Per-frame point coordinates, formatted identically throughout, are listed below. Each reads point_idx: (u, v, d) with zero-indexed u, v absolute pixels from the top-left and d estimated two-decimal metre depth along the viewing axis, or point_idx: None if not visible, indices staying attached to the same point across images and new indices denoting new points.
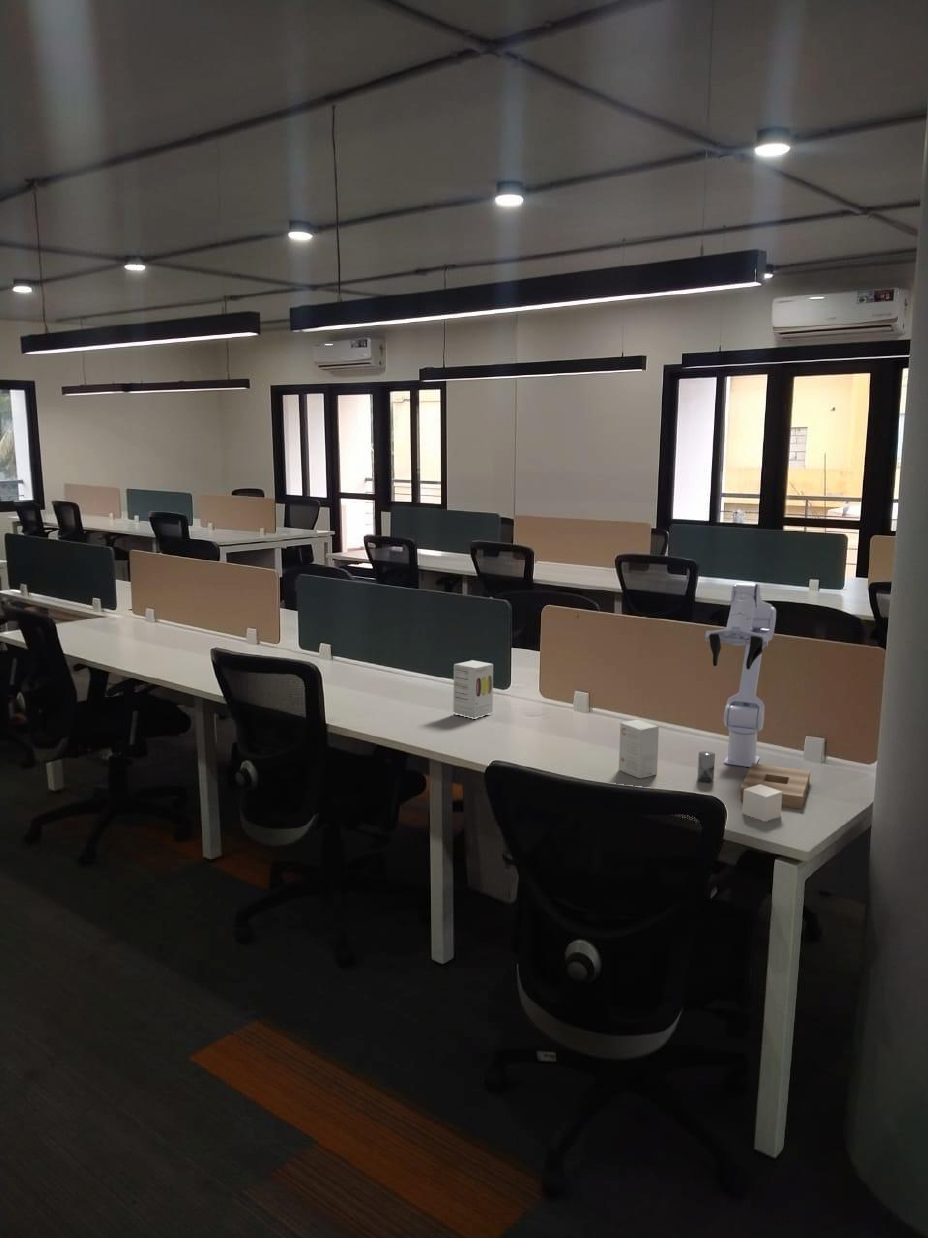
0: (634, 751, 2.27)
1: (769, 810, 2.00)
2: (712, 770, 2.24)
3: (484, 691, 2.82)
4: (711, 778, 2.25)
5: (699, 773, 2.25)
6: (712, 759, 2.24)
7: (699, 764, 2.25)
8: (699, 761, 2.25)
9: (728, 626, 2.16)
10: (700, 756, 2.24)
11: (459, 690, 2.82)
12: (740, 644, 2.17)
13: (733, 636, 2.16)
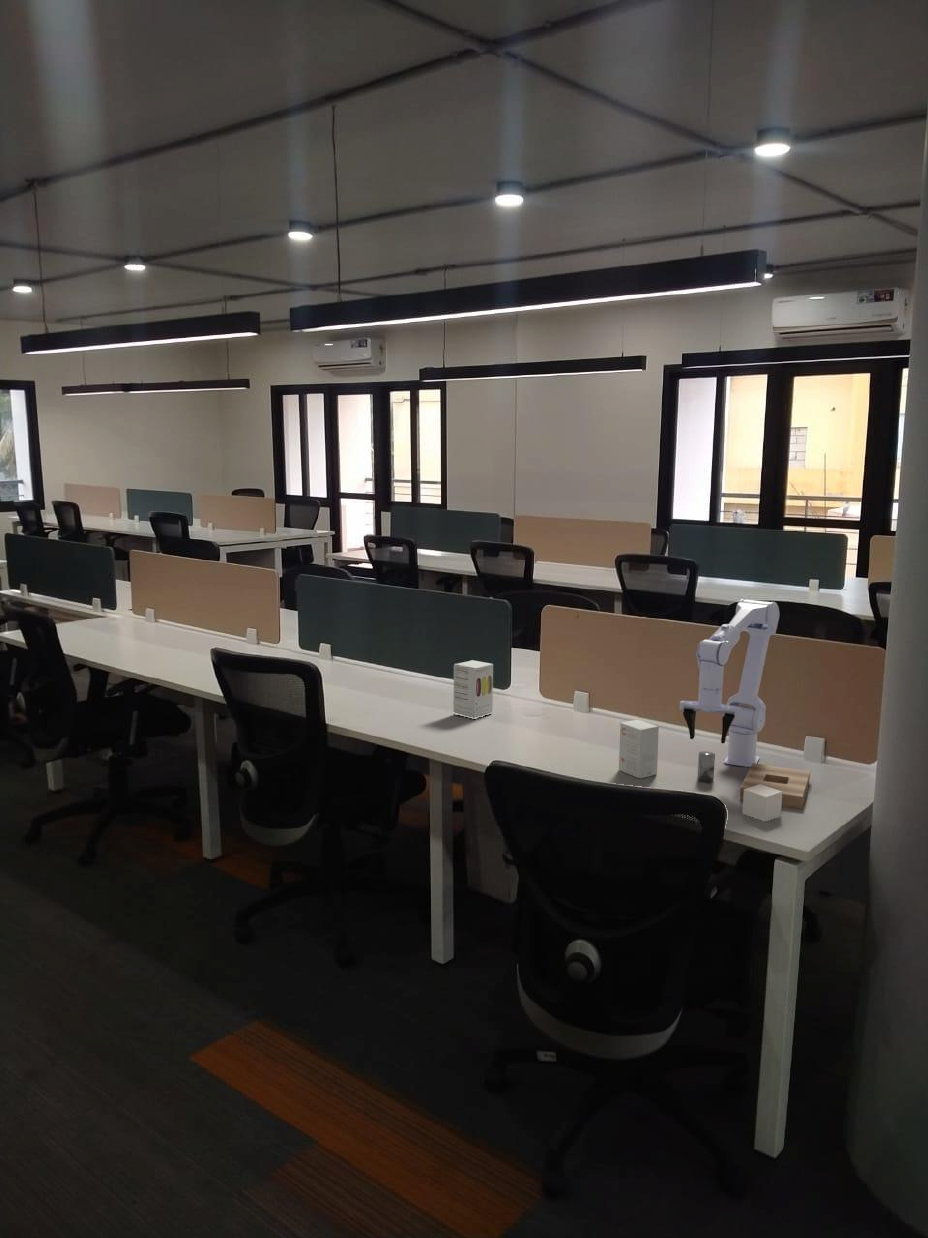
0: (634, 751, 2.27)
1: (769, 810, 2.00)
2: (712, 770, 2.24)
3: (484, 691, 2.82)
4: (711, 778, 2.25)
5: (699, 773, 2.25)
6: (712, 759, 2.24)
7: (699, 764, 2.25)
8: (699, 761, 2.25)
9: (699, 701, 2.22)
10: (700, 756, 2.24)
11: (459, 690, 2.82)
12: None
13: None
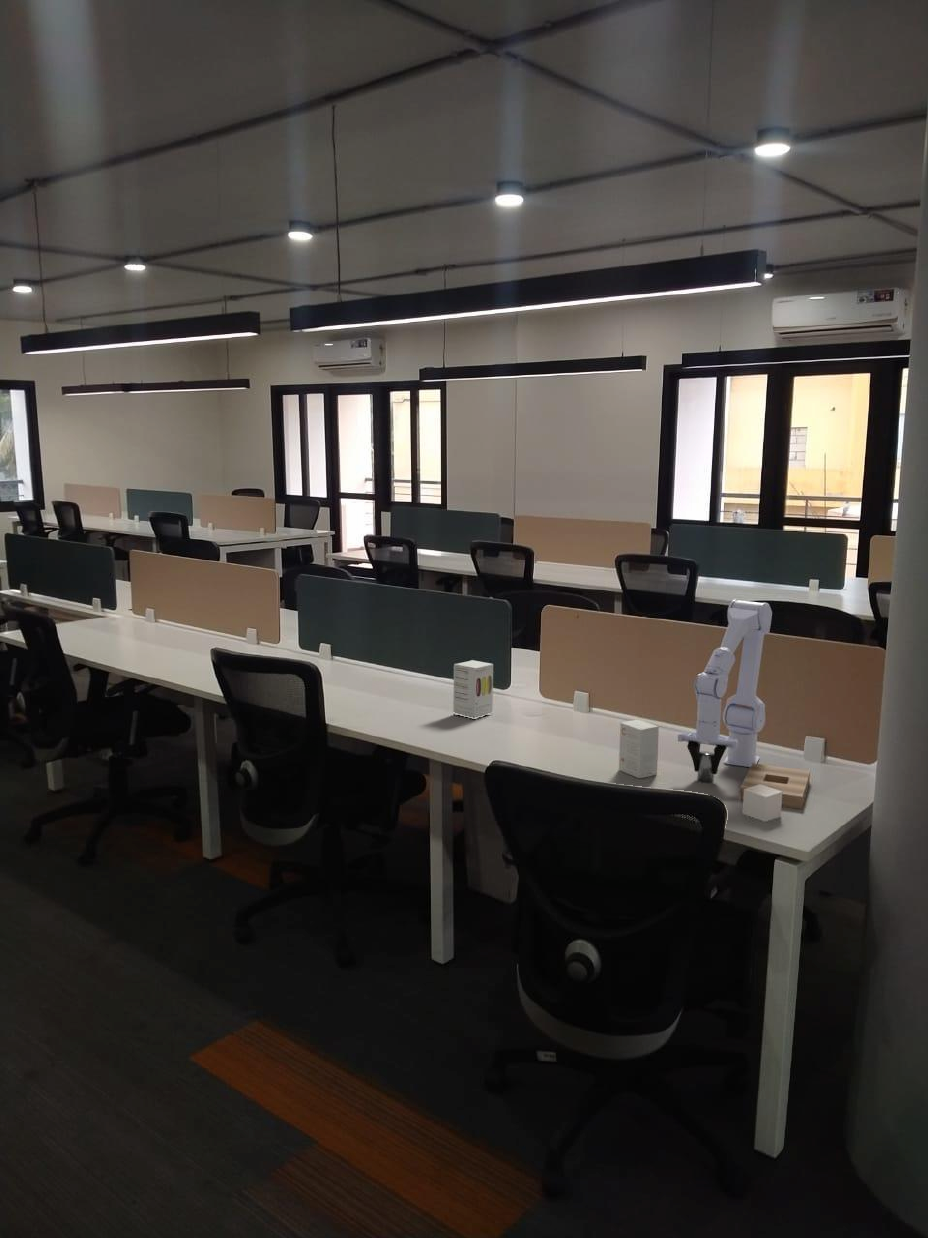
0: (634, 751, 2.27)
1: (769, 810, 2.00)
2: (712, 770, 2.24)
3: (484, 691, 2.82)
4: (711, 778, 2.25)
5: (699, 773, 2.25)
6: (712, 759, 2.24)
7: (699, 764, 2.25)
8: (699, 761, 2.25)
9: (698, 733, 2.24)
10: (700, 756, 2.24)
11: (459, 690, 2.82)
12: None
13: None
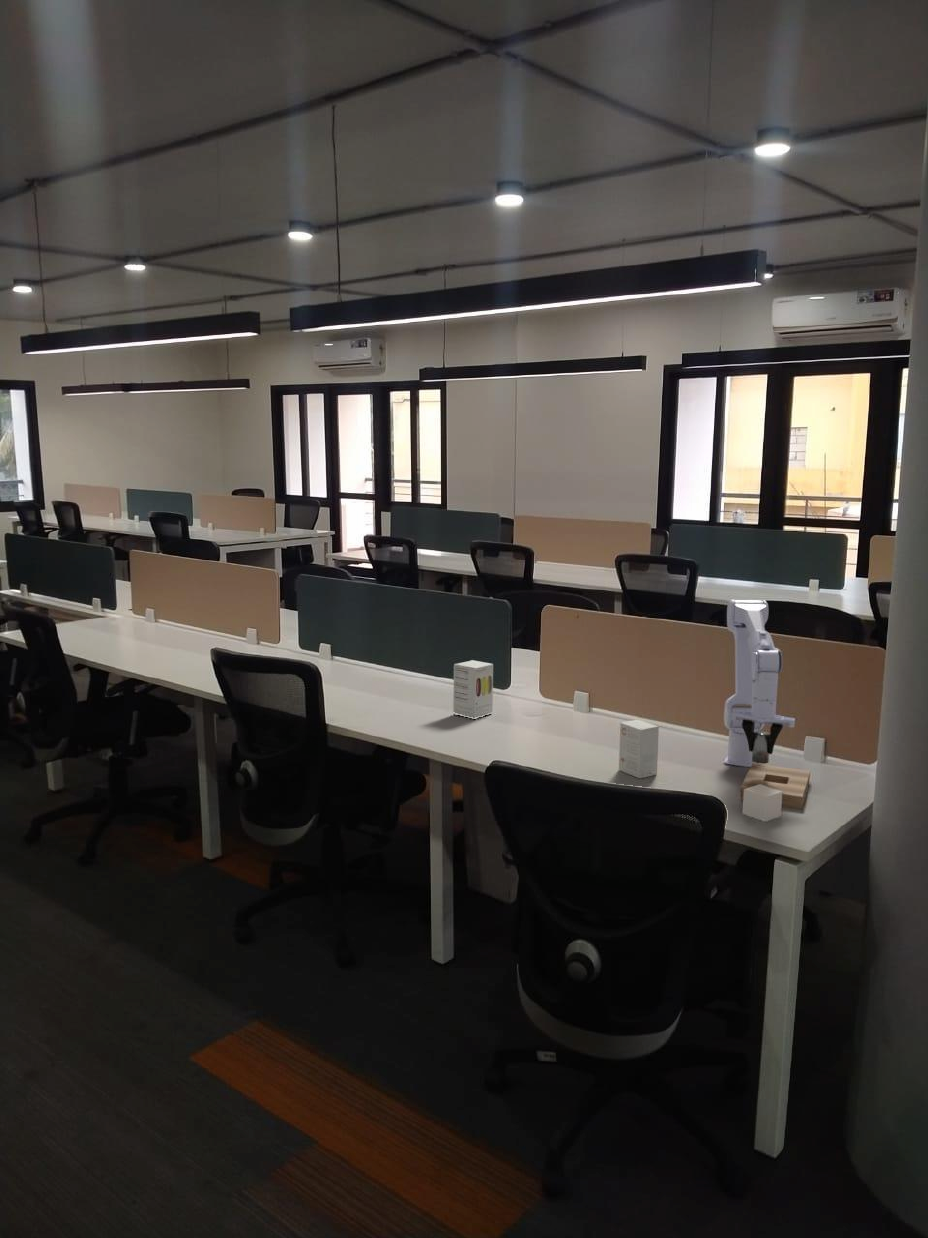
0: (634, 751, 2.27)
1: (769, 810, 2.00)
2: (767, 750, 2.17)
3: (484, 691, 2.82)
4: (766, 759, 2.18)
5: (754, 753, 2.18)
6: (768, 739, 2.17)
7: (754, 744, 2.18)
8: (754, 741, 2.18)
9: (753, 712, 2.17)
10: (755, 736, 2.18)
11: (459, 690, 2.82)
12: None
13: None
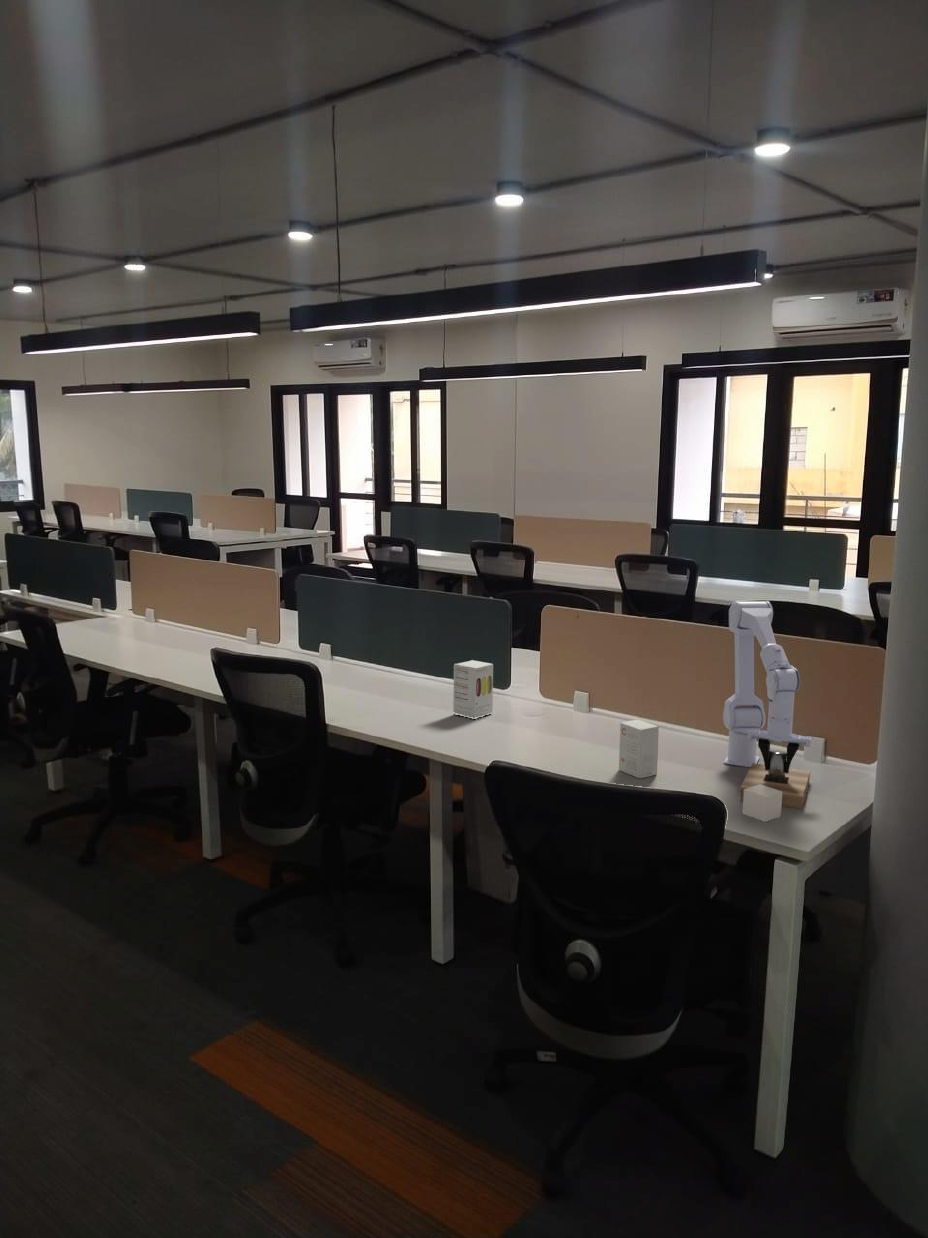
0: (634, 751, 2.27)
1: (770, 810, 2.00)
2: (784, 769, 2.16)
3: (484, 691, 2.82)
4: (783, 778, 2.17)
5: (770, 773, 2.17)
6: (784, 758, 2.16)
7: (770, 763, 2.17)
8: (770, 760, 2.17)
9: (769, 731, 2.16)
10: (771, 755, 2.17)
11: (459, 690, 2.82)
12: None
13: None
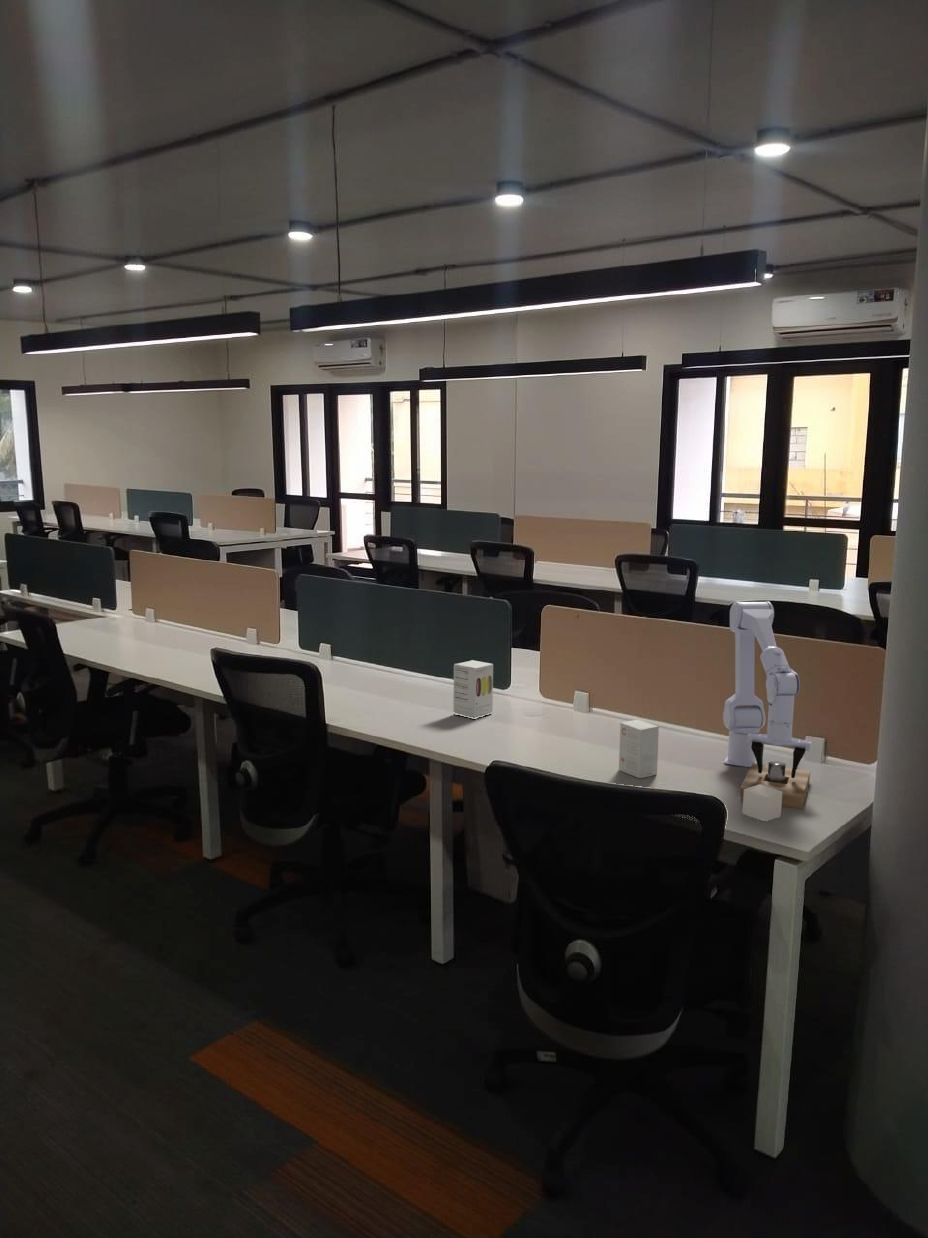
0: (634, 751, 2.27)
1: (769, 810, 2.00)
2: (783, 780, 2.17)
3: (484, 691, 2.82)
4: None
5: None
6: (783, 769, 2.16)
7: (769, 774, 2.18)
8: (769, 771, 2.18)
9: (769, 735, 2.16)
10: (770, 766, 2.17)
11: (459, 690, 2.82)
12: None
13: None
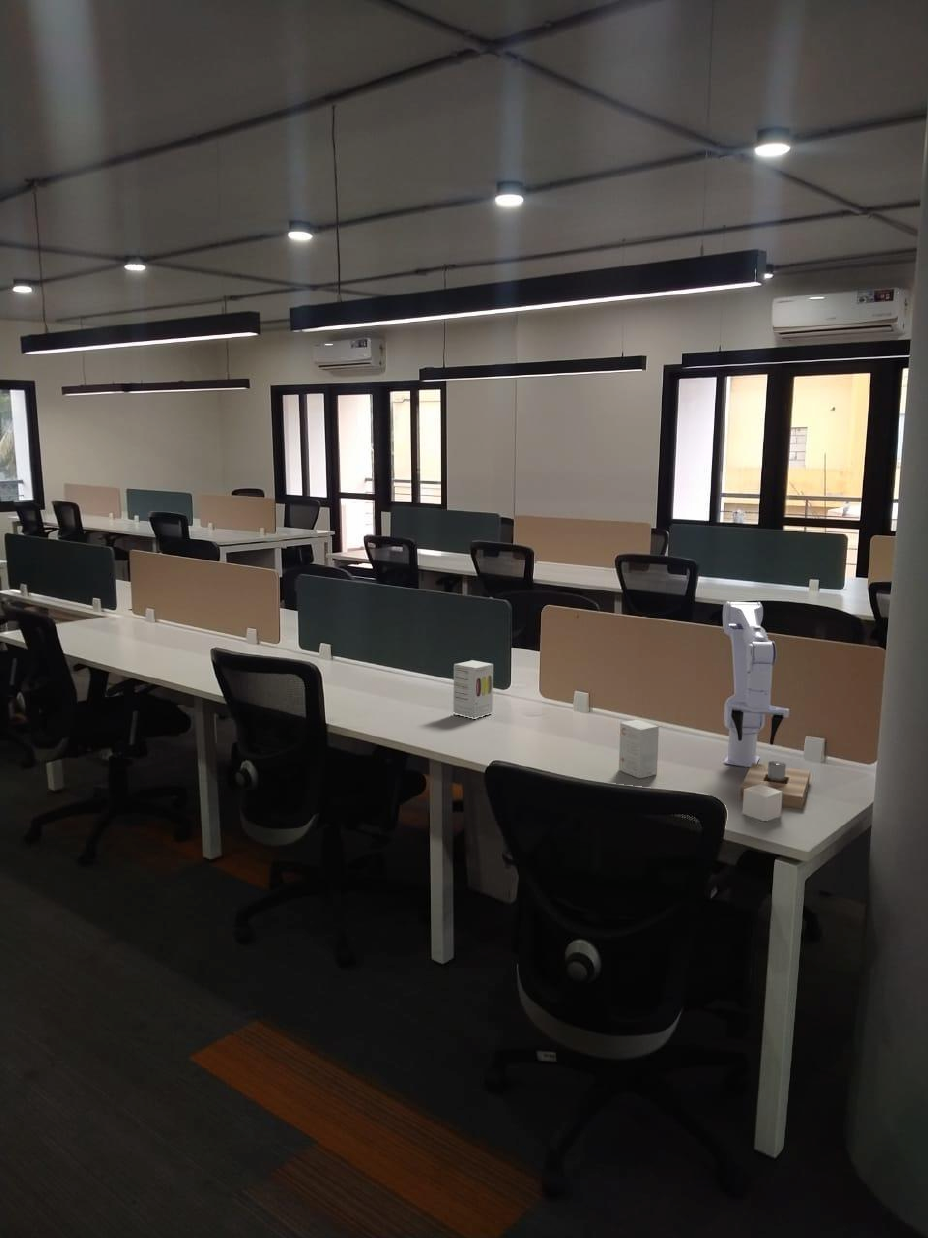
0: (634, 751, 2.27)
1: (770, 810, 2.00)
2: (783, 781, 2.17)
3: (484, 691, 2.82)
4: None
5: None
6: (783, 769, 2.16)
7: (769, 774, 2.18)
8: (769, 771, 2.18)
9: (748, 702, 2.22)
10: (770, 766, 2.17)
11: (459, 690, 2.82)
12: None
13: None
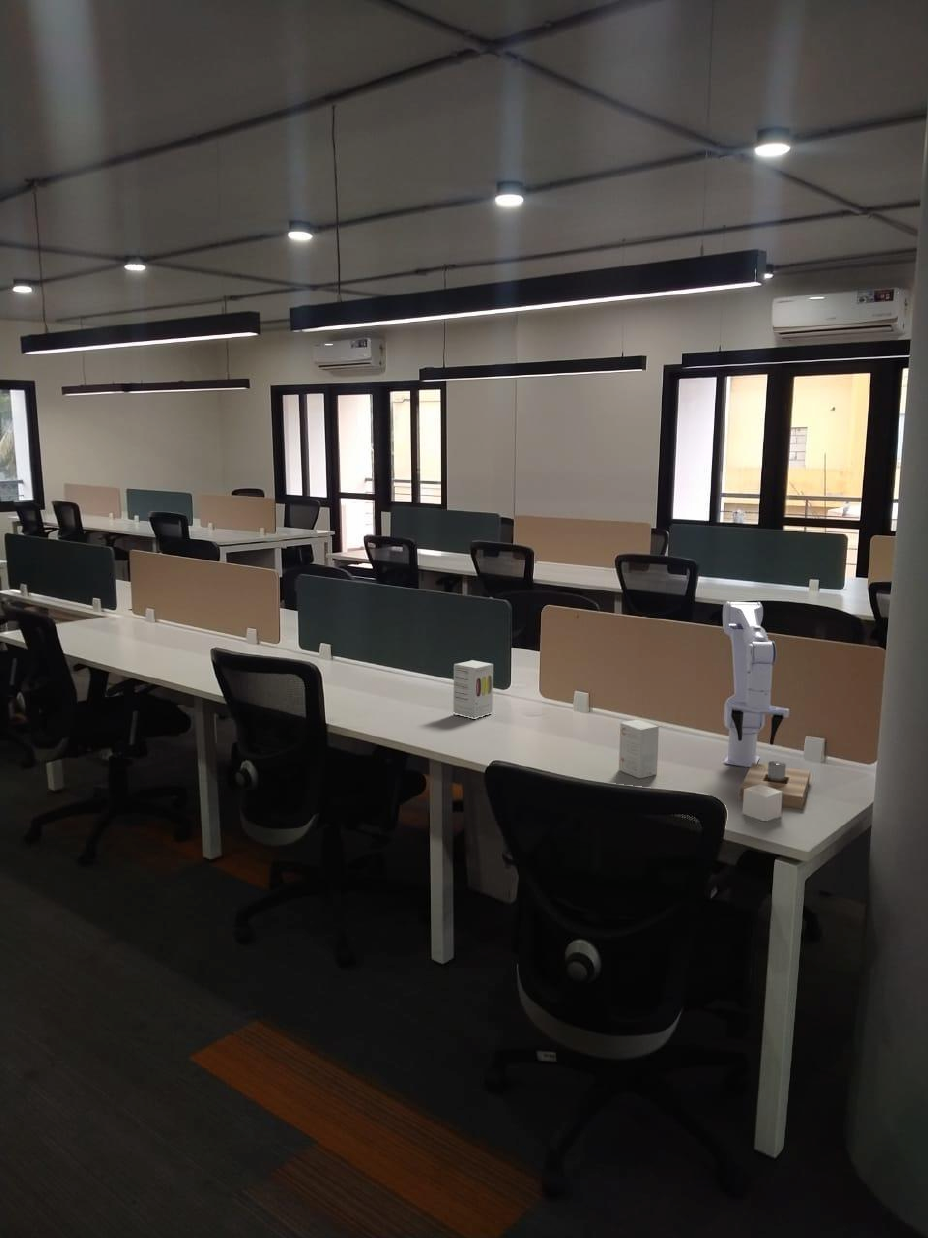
0: (634, 751, 2.27)
1: (770, 810, 2.00)
2: (783, 781, 2.17)
3: (484, 691, 2.82)
4: None
5: None
6: (783, 769, 2.16)
7: (769, 774, 2.18)
8: (769, 771, 2.18)
9: (748, 702, 2.22)
10: (770, 766, 2.17)
11: (459, 690, 2.82)
12: None
13: None
